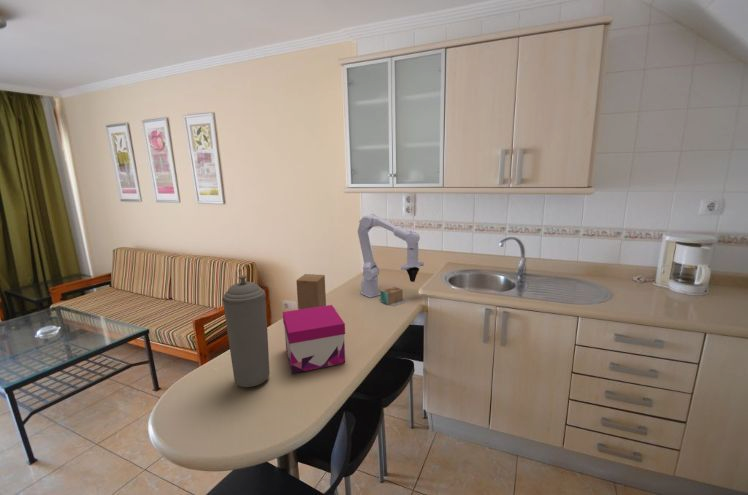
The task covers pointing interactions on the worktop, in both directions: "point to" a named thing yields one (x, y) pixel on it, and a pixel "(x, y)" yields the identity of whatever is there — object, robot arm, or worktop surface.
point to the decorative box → (314, 338)
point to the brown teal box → (391, 295)
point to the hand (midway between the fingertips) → (412, 281)
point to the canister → (247, 332)
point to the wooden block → (311, 291)
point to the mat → (398, 302)
